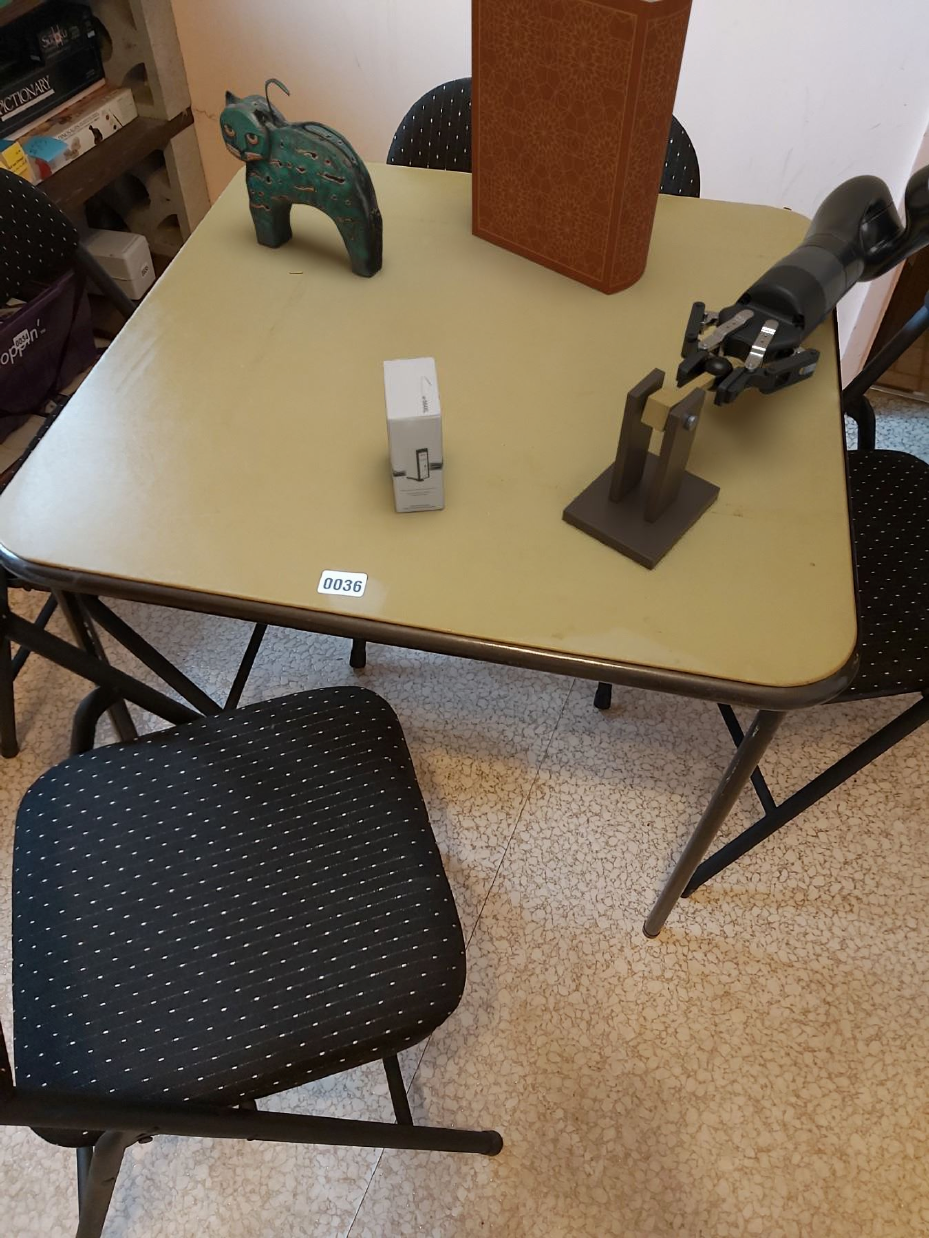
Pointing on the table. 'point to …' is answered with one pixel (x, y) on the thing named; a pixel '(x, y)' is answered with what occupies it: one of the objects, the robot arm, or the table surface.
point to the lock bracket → (646, 482)
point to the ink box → (414, 433)
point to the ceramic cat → (302, 177)
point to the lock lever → (685, 391)
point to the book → (573, 129)
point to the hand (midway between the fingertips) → (700, 389)
